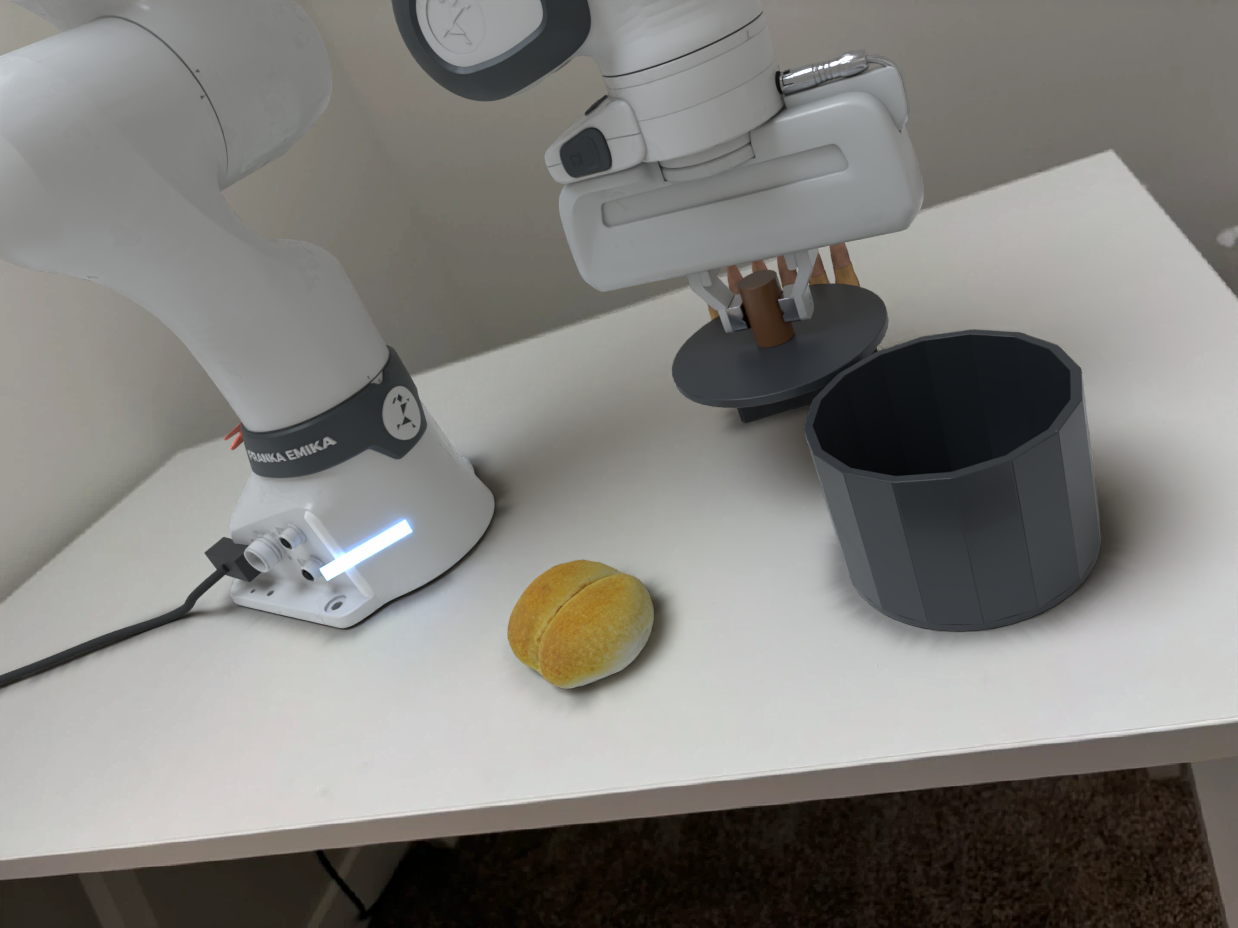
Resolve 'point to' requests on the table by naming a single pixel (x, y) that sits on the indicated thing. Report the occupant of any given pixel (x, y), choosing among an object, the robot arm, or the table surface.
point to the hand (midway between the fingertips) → (769, 322)
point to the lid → (779, 345)
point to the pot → (960, 478)
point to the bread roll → (580, 622)
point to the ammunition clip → (842, 276)
